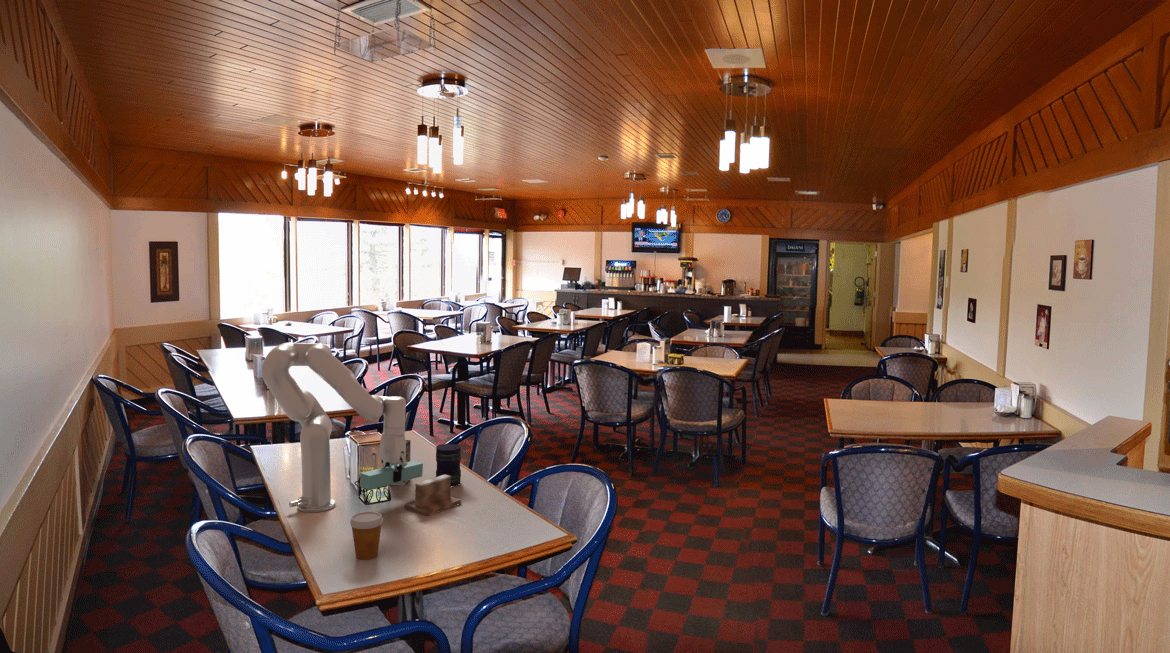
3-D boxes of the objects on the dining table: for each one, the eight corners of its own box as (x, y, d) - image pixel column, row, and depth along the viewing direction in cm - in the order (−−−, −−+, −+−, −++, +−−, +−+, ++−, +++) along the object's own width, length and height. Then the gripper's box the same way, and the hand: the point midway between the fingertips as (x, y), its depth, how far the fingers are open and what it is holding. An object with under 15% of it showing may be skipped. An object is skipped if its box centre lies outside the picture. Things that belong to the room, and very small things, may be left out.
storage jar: (430, 485, 276) (430, 448, 275) (443, 478, 286) (443, 442, 284) (453, 488, 273) (453, 451, 272) (465, 481, 282) (465, 445, 281)
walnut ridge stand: (427, 516, 244) (427, 488, 243) (404, 508, 251) (404, 481, 250) (461, 503, 257) (461, 477, 256) (438, 496, 264) (438, 471, 263)
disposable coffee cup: (386, 548, 216) (386, 511, 215) (378, 562, 206) (378, 522, 205) (355, 548, 215) (355, 510, 214) (345, 562, 206) (345, 522, 205)
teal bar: (368, 489, 245) (369, 475, 245) (360, 486, 248) (360, 472, 248) (422, 476, 264) (422, 463, 264) (413, 473, 267) (414, 460, 267)
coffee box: (405, 485, 275) (404, 445, 274) (388, 485, 276) (388, 445, 274) (411, 478, 285) (411, 439, 283) (395, 478, 285) (395, 439, 283)
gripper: (370, 427, 257) (369, 476, 258) (400, 436, 247) (398, 487, 248) (387, 424, 263) (385, 472, 264) (417, 433, 253) (415, 482, 254)
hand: (392, 479), depth 256 cm, fingers closed on teal bar, 5 cm apart
